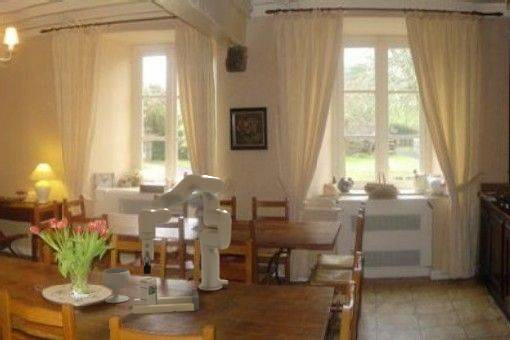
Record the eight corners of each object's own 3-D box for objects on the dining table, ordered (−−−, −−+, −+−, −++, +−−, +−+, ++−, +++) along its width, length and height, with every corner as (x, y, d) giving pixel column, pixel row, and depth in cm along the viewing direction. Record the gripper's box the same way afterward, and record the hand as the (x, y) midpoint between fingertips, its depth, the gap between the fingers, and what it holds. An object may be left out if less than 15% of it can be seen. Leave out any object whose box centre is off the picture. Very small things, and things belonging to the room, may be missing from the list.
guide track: (197, 301, 275) (197, 289, 274) (198, 310, 262) (198, 297, 262) (134, 305, 270) (134, 292, 269) (132, 313, 257) (132, 301, 257)
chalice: (123, 305, 269) (123, 274, 268) (97, 303, 272) (96, 273, 271) (135, 296, 283) (135, 267, 282) (110, 295, 286) (109, 266, 285)
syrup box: (148, 311, 261) (147, 280, 259) (139, 308, 264) (139, 278, 263) (157, 308, 265) (157, 278, 264) (148, 305, 269) (148, 276, 268)
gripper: (155, 238, 254) (155, 275, 255) (155, 232, 271) (155, 266, 272) (138, 238, 253) (138, 276, 254) (140, 232, 270) (139, 267, 271)
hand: (147, 271), depth 263 cm, fingers open, 9 cm apart
